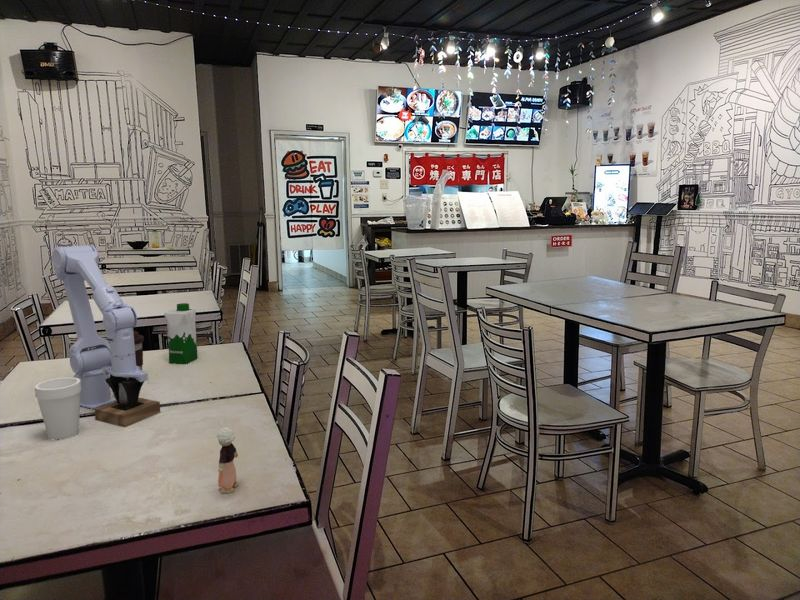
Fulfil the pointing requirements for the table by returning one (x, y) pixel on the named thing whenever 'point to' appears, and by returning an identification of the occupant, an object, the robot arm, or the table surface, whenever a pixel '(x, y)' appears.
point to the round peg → (123, 398)
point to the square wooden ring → (127, 412)
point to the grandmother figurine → (227, 461)
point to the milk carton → (181, 334)
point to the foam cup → (60, 406)
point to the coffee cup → (138, 349)
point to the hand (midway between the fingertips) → (127, 403)
